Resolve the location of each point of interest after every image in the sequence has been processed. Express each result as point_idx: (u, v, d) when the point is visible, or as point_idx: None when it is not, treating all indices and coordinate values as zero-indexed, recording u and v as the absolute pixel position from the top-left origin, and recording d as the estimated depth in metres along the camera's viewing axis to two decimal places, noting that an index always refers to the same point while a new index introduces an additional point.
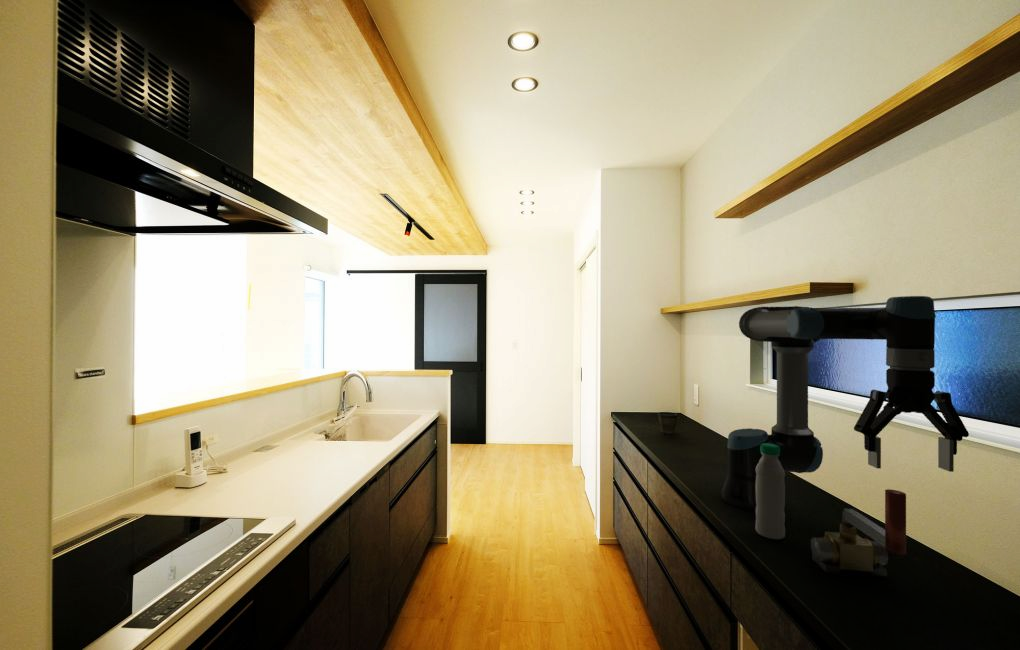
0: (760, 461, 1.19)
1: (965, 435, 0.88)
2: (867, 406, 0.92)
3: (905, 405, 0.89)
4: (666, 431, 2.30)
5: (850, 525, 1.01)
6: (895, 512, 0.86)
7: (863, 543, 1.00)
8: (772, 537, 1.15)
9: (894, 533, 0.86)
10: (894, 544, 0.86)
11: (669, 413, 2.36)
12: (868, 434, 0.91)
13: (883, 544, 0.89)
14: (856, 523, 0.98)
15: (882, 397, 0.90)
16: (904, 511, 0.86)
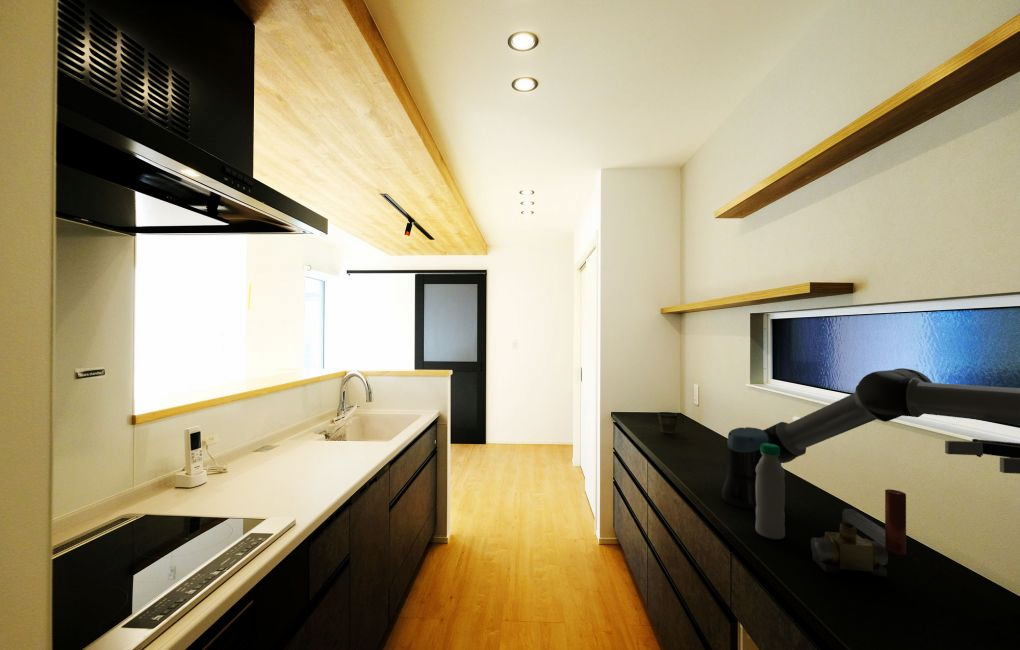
0: (760, 461, 1.19)
1: None
2: None
3: None
4: (666, 431, 2.30)
5: (850, 525, 1.01)
6: (895, 512, 0.86)
7: (863, 543, 1.00)
8: (772, 537, 1.15)
9: (894, 533, 0.86)
10: (894, 544, 0.86)
11: (669, 413, 2.36)
12: None
13: (883, 544, 0.89)
14: (856, 523, 0.98)
15: None
16: (904, 511, 0.86)
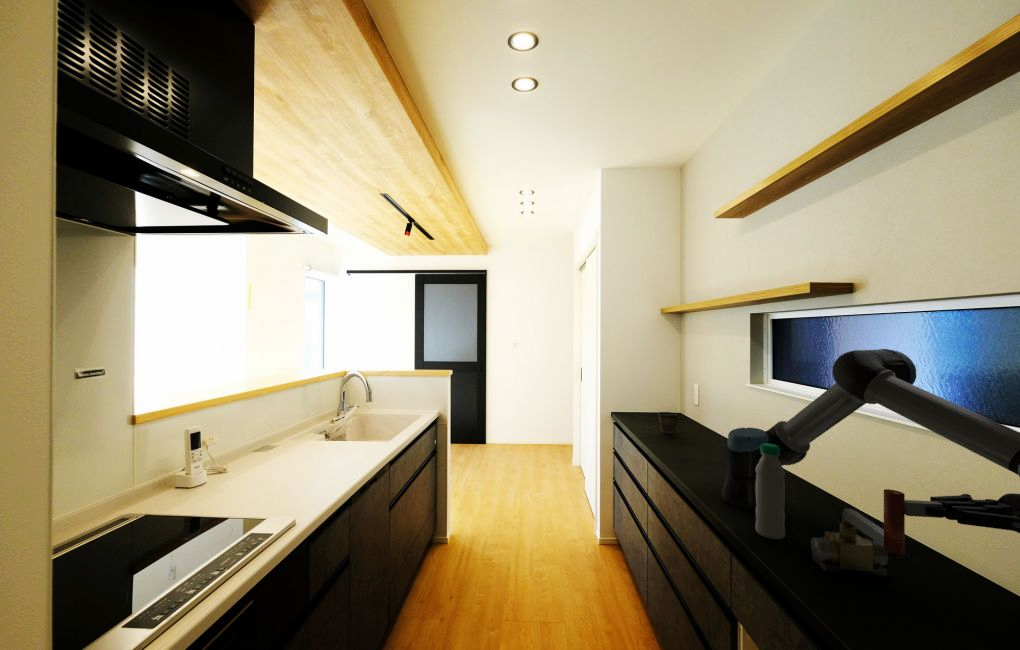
0: (760, 461, 1.19)
1: None
2: (999, 519, 0.80)
3: None
4: (666, 431, 2.30)
5: (850, 525, 1.01)
6: (893, 512, 0.86)
7: (863, 543, 1.00)
8: (772, 537, 1.15)
9: (892, 533, 0.86)
10: (892, 544, 0.86)
11: (669, 413, 2.36)
12: (948, 517, 0.84)
13: (882, 544, 0.89)
14: (856, 523, 0.98)
15: None
16: (902, 511, 0.86)
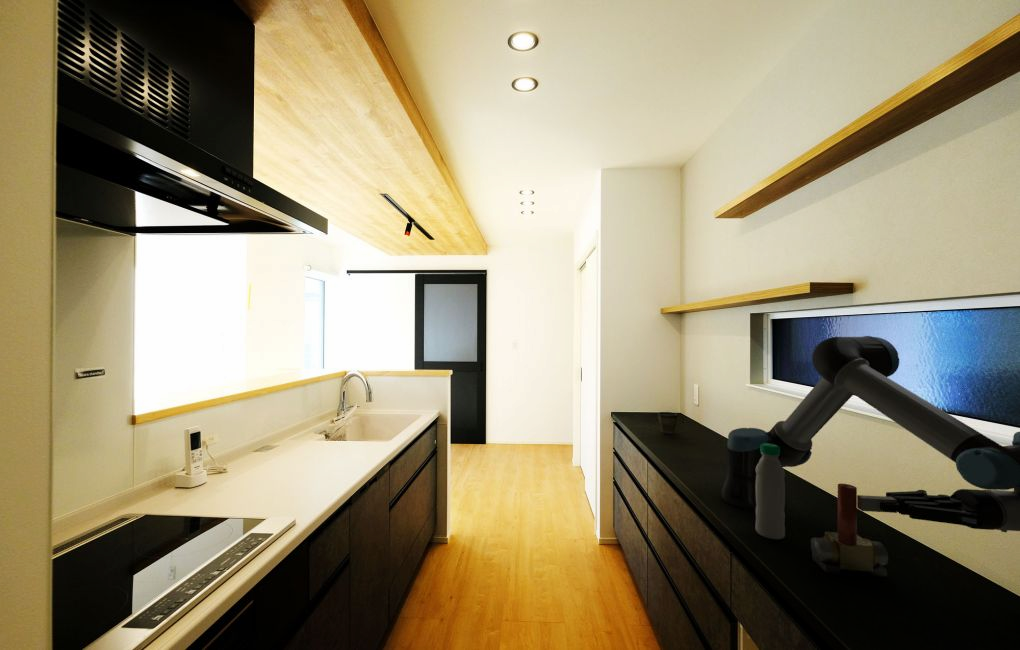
0: (760, 461, 1.19)
1: None
2: (949, 513, 0.83)
3: None
4: (666, 431, 2.30)
5: None
6: (841, 504, 0.90)
7: (863, 543, 1.00)
8: (772, 537, 1.15)
9: (840, 524, 0.90)
10: (840, 534, 0.90)
11: (669, 413, 2.36)
12: (901, 512, 0.87)
13: None
14: None
15: None
16: (851, 504, 0.89)
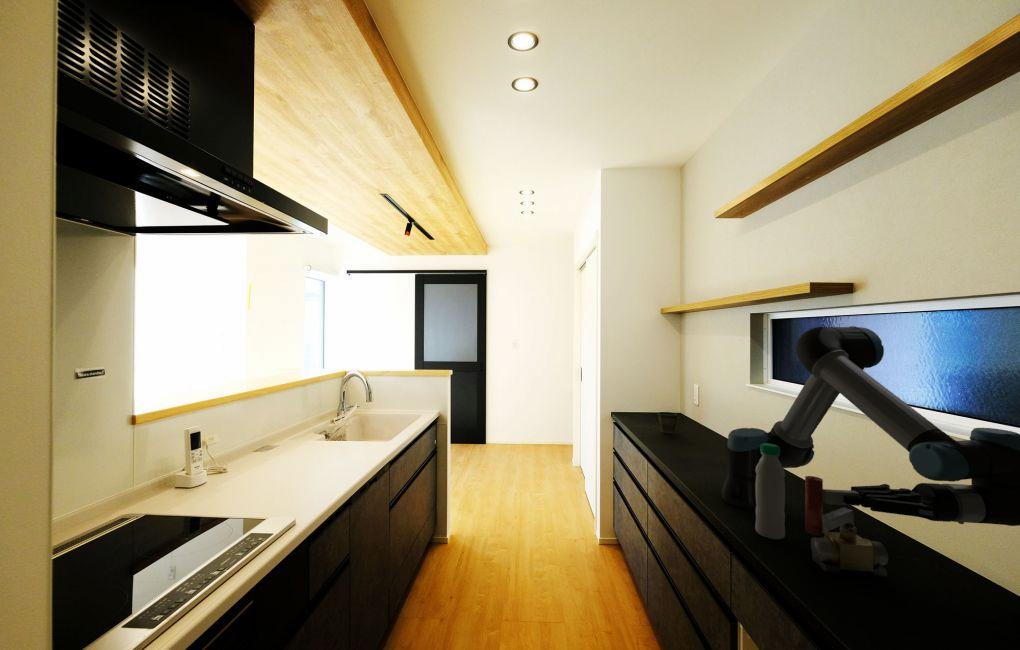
0: (760, 461, 1.19)
1: None
2: (907, 506, 0.86)
3: None
4: (666, 431, 2.30)
5: (845, 524, 1.02)
6: (806, 494, 0.95)
7: (863, 543, 1.00)
8: (772, 537, 1.15)
9: (806, 513, 0.95)
10: (806, 523, 0.95)
11: (669, 413, 2.36)
12: (863, 505, 0.90)
13: None
14: None
15: None
16: (813, 495, 0.94)
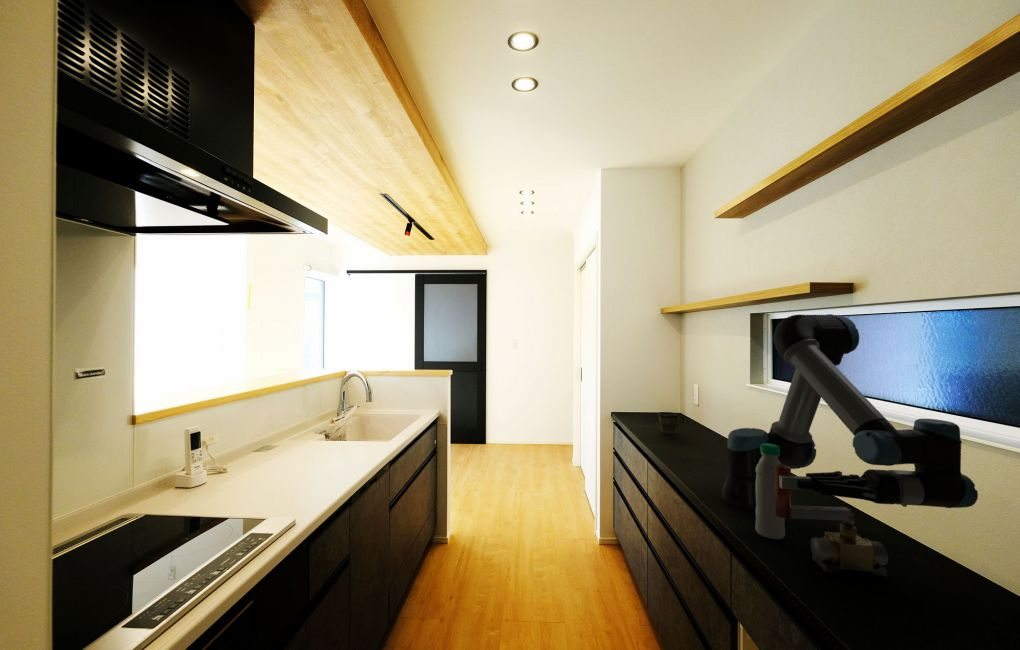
0: (760, 461, 1.19)
1: None
2: (853, 489, 0.95)
3: None
4: (666, 431, 2.30)
5: (842, 522, 1.02)
6: (775, 479, 1.04)
7: (863, 543, 1.00)
8: (772, 537, 1.15)
9: None
10: None
11: (669, 413, 2.36)
12: (814, 489, 0.99)
13: None
14: None
15: None
16: (778, 480, 1.03)
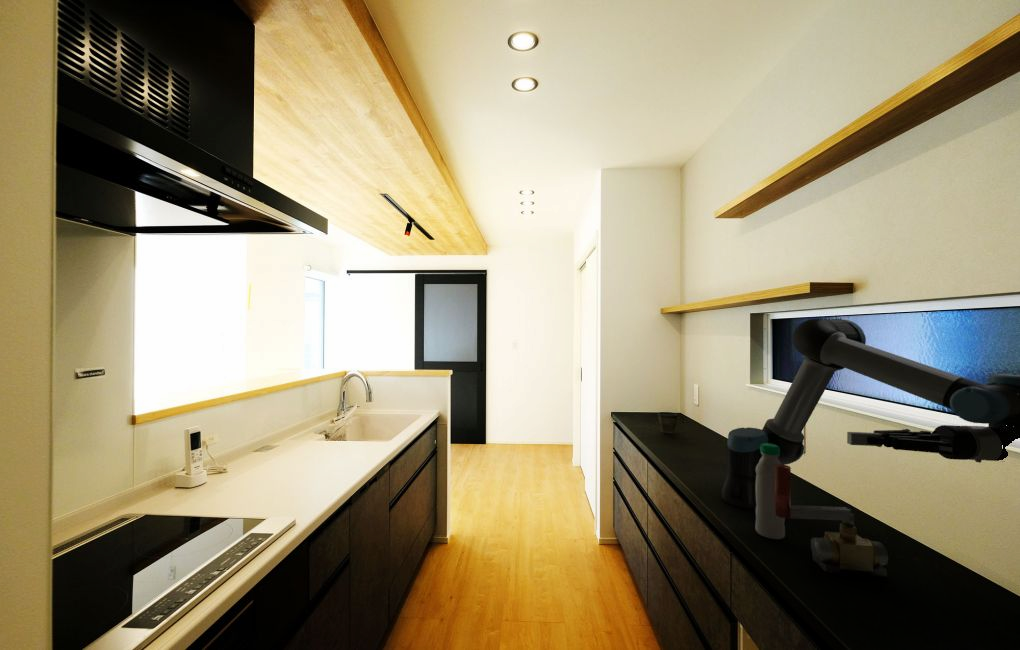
0: (760, 461, 1.19)
1: None
2: (928, 443, 0.93)
3: None
4: (666, 431, 2.30)
5: (842, 522, 1.02)
6: (775, 479, 1.04)
7: (863, 543, 1.00)
8: (772, 537, 1.15)
9: None
10: None
11: (669, 413, 2.36)
12: (886, 445, 0.97)
13: None
14: None
15: None
16: (778, 480, 1.03)
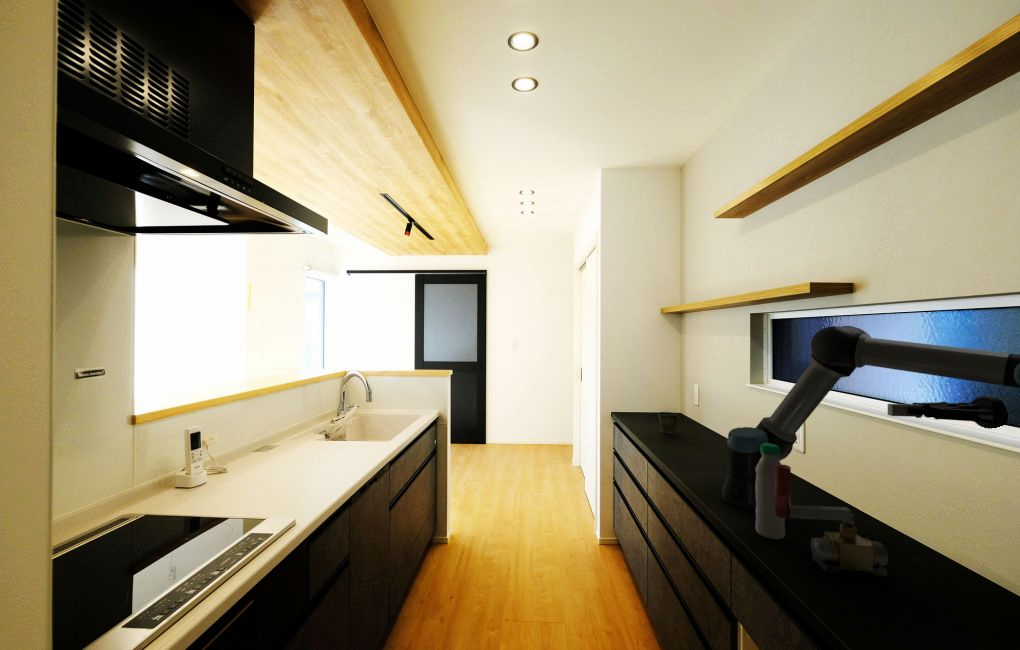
0: (760, 461, 1.19)
1: None
2: (968, 412, 0.96)
3: None
4: (666, 431, 2.30)
5: (842, 522, 1.02)
6: (775, 479, 1.04)
7: (863, 543, 1.00)
8: (772, 537, 1.15)
9: None
10: None
11: (669, 413, 2.36)
12: (926, 415, 1.00)
13: None
14: None
15: None
16: (778, 480, 1.03)
